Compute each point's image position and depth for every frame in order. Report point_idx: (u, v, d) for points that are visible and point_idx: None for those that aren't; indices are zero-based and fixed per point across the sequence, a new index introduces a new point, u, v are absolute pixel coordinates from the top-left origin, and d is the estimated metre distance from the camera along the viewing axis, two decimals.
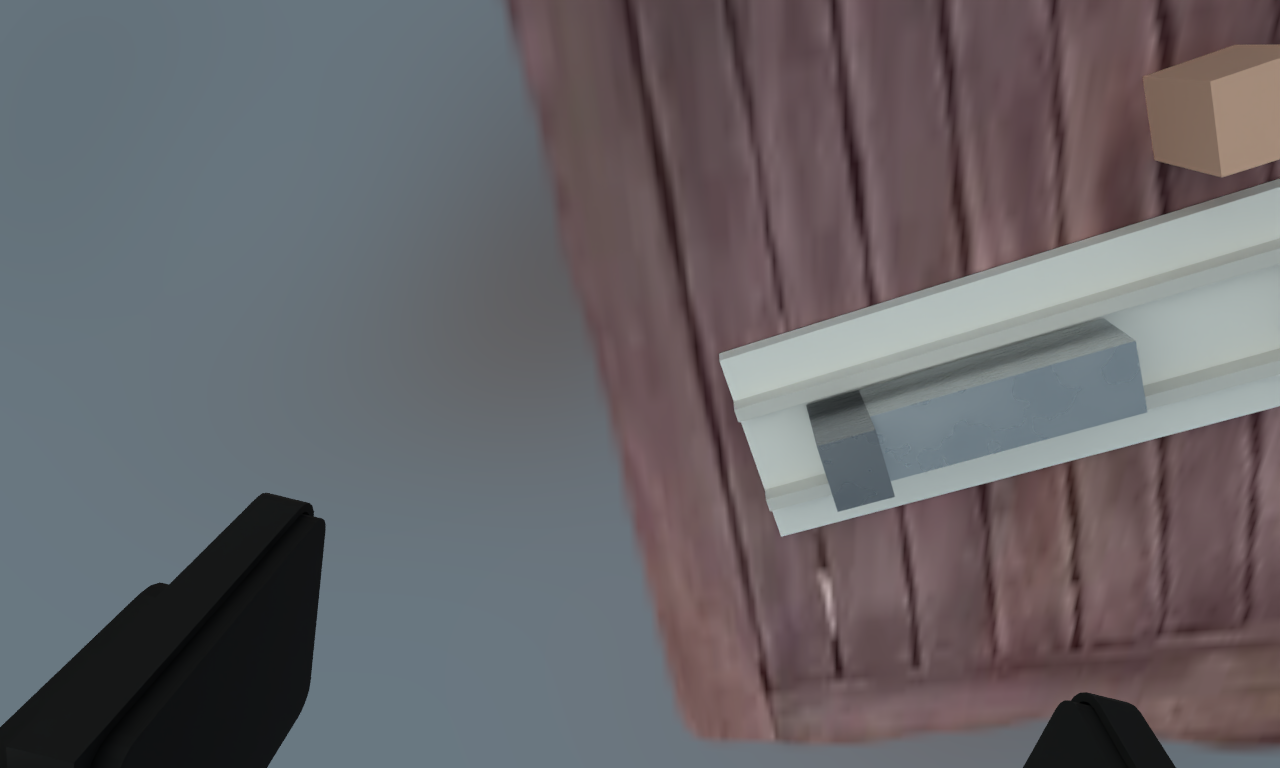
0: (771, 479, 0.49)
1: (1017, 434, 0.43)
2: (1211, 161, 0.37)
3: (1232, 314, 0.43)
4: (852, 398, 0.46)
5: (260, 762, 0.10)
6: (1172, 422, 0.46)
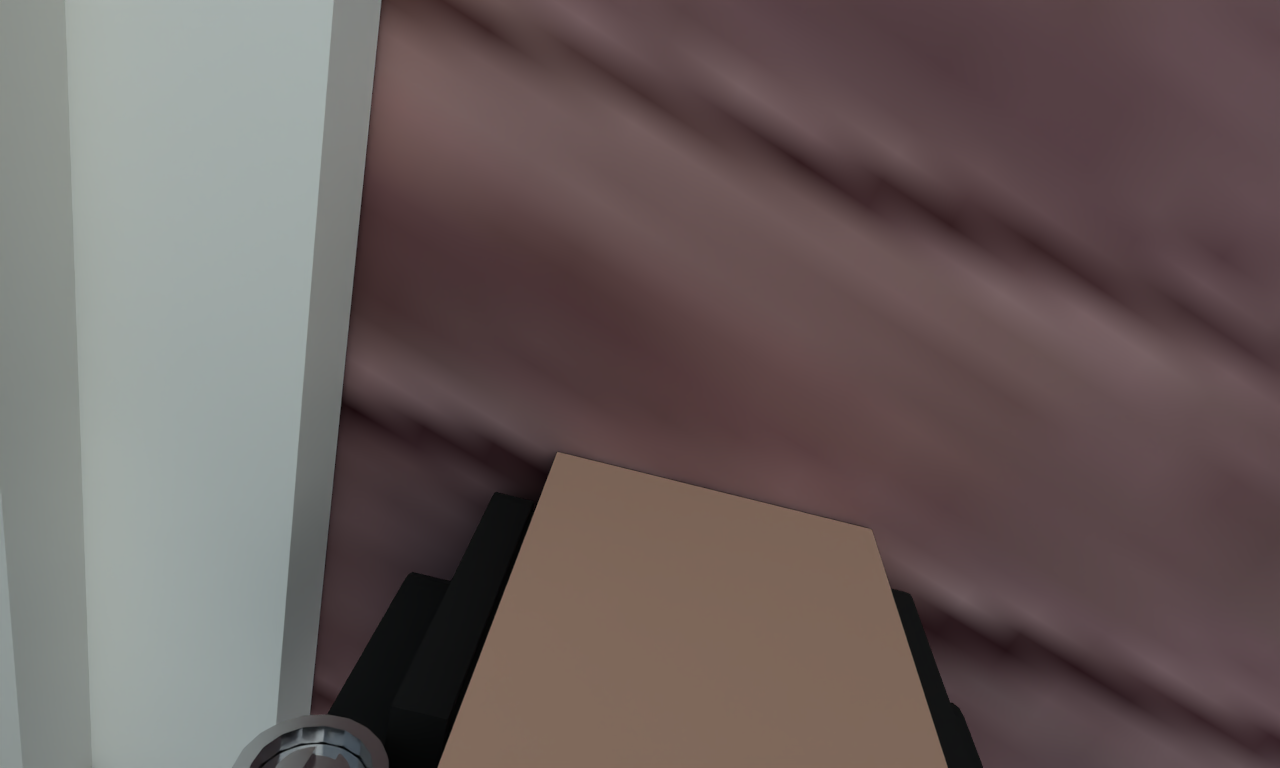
0: None
1: None
2: None
3: None
4: None
5: None
6: None
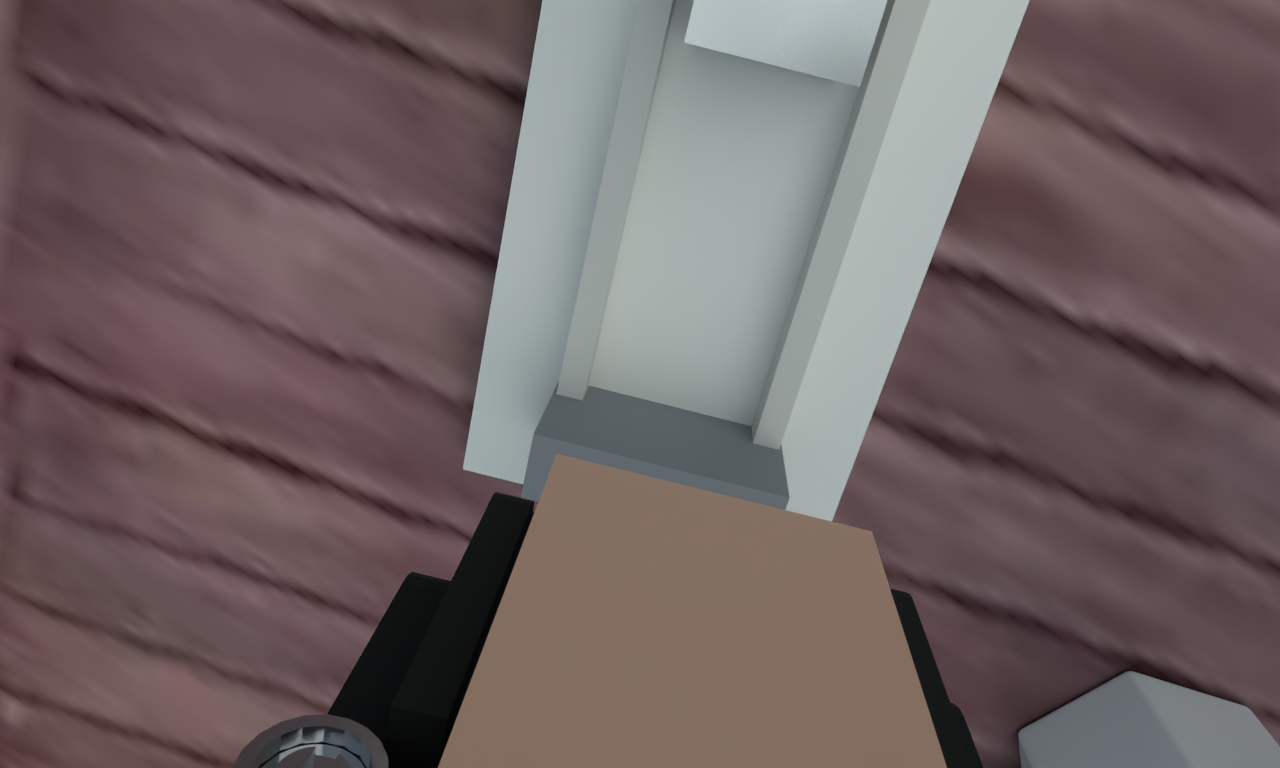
0: None
1: None
2: None
3: (706, 283, 0.24)
4: None
5: None
6: (550, 112, 0.23)
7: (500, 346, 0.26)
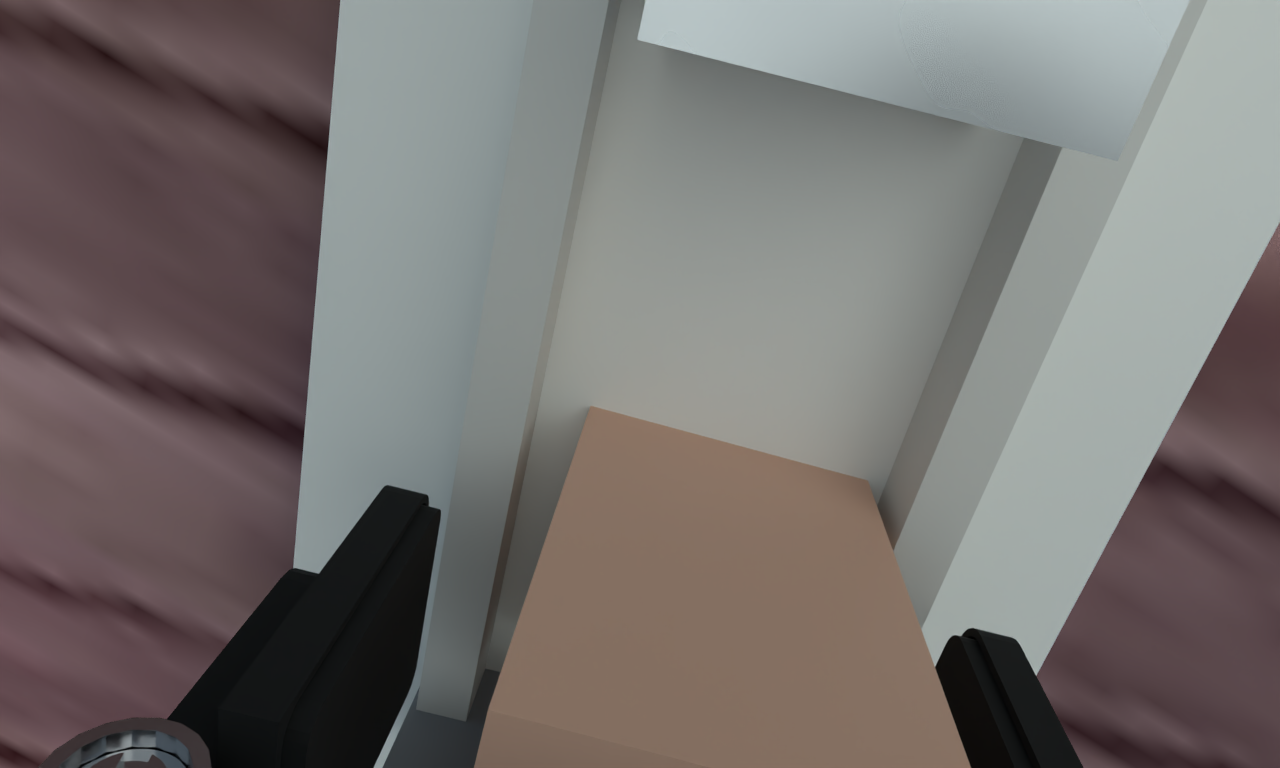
0: None
1: None
2: (579, 670, 0.07)
3: None
4: None
5: (383, 735, 0.10)
6: (378, 185, 0.11)
7: None
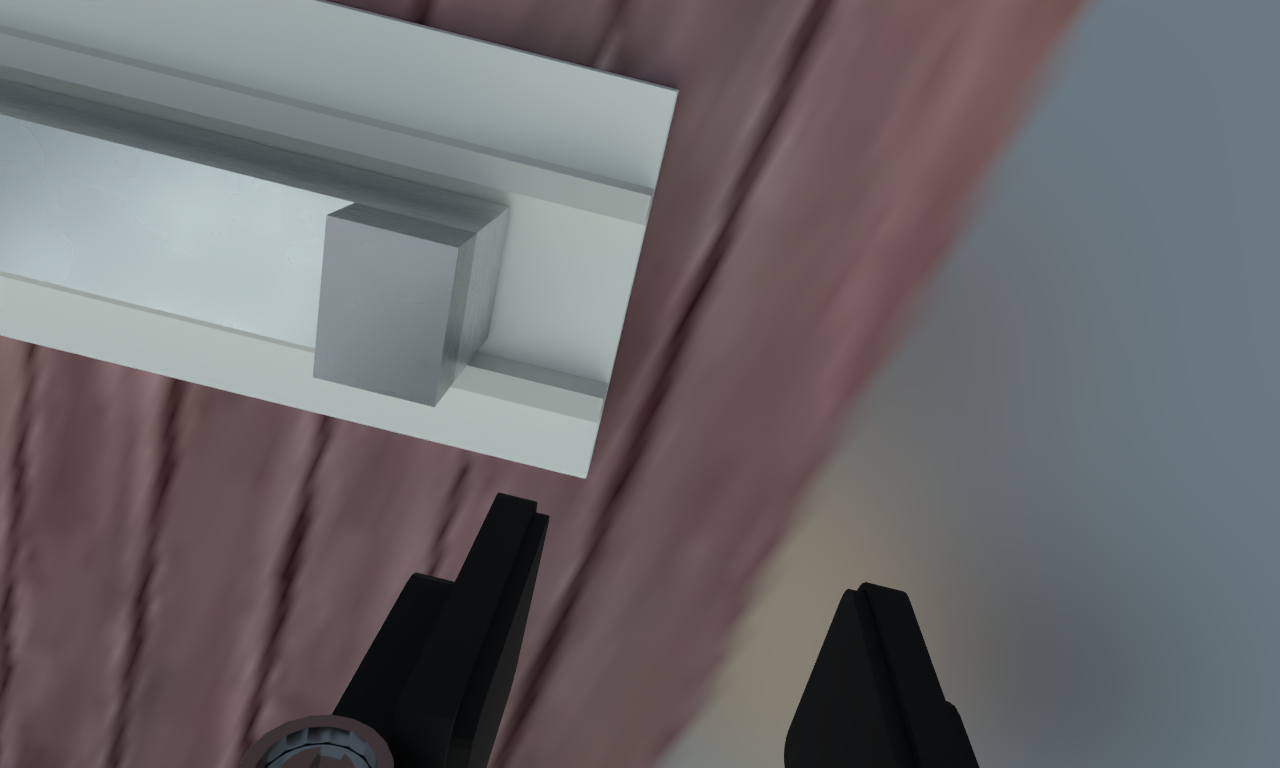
0: (623, 230, 0.24)
1: (77, 163, 0.20)
2: None
3: None
4: None
5: (495, 733, 0.11)
6: None
7: None
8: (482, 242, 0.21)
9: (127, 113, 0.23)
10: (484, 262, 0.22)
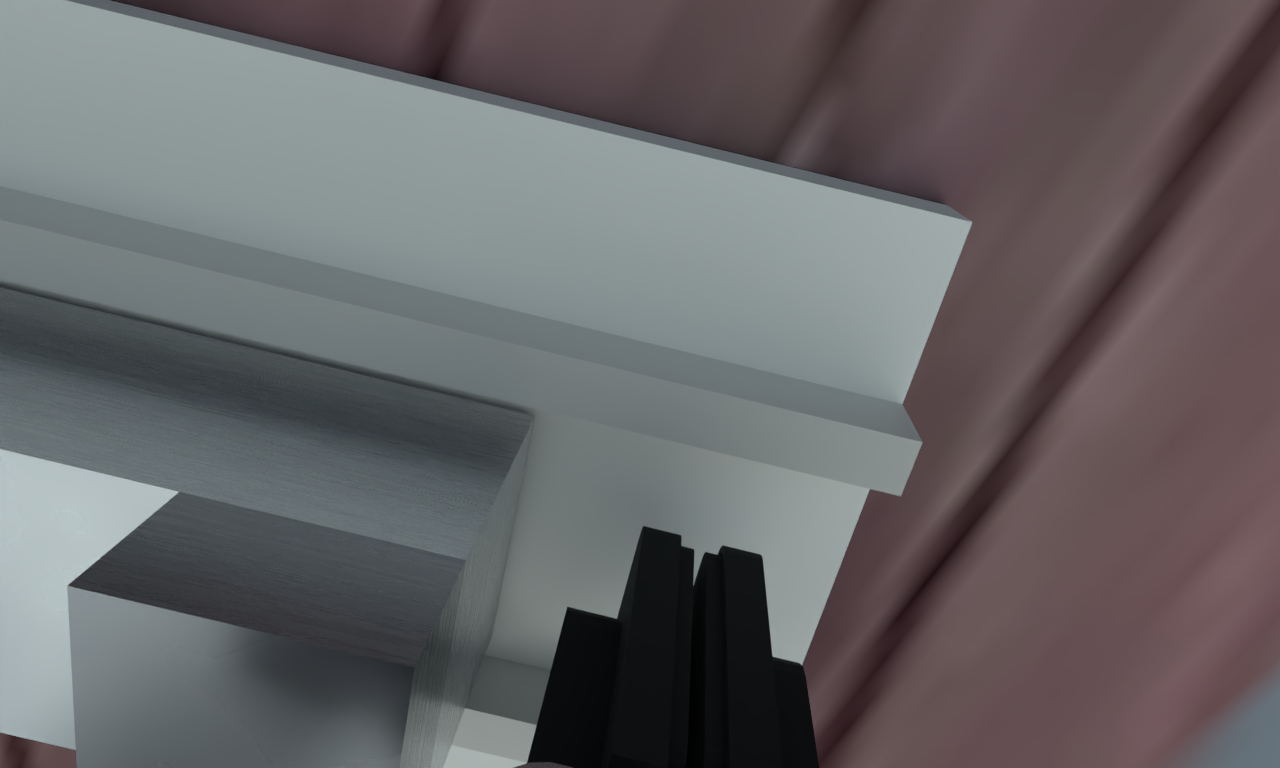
0: None
1: None
2: None
3: None
4: None
5: None
6: None
7: None
8: (479, 552, 0.09)
9: None
10: (484, 568, 0.10)
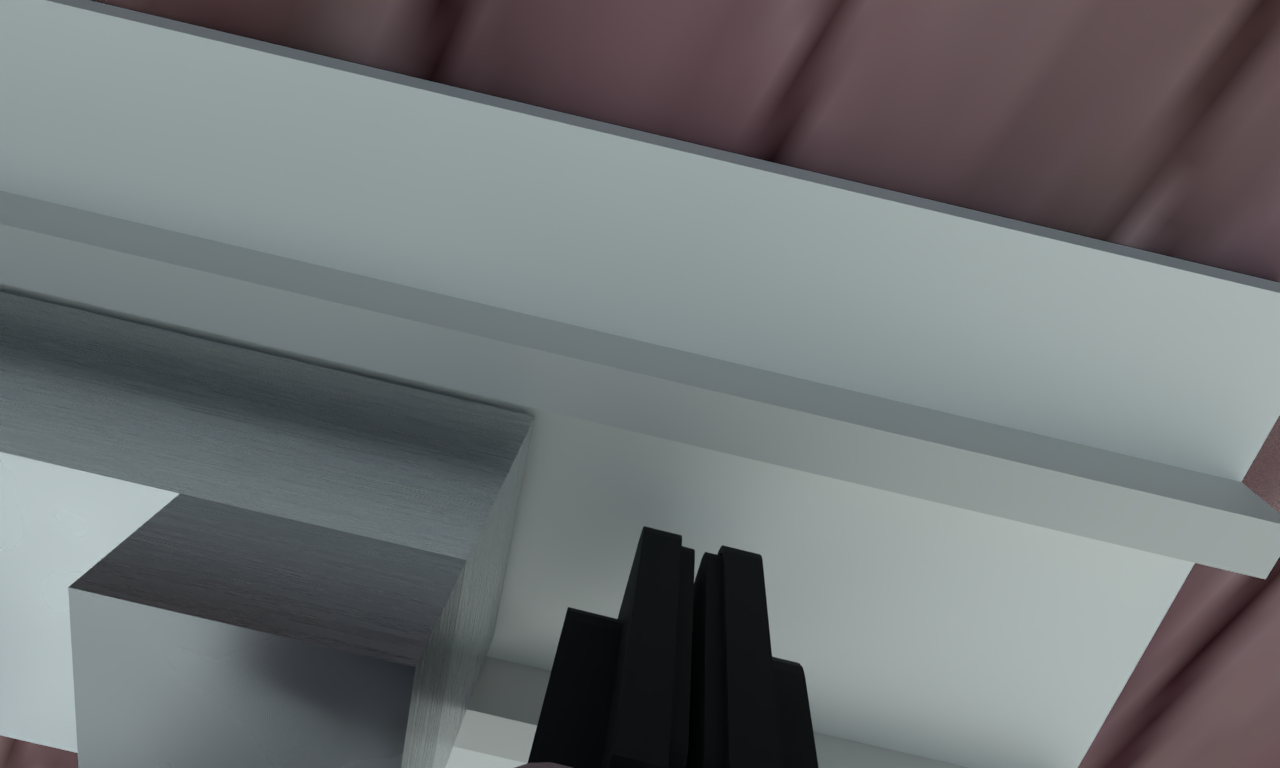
0: None
1: None
2: None
3: None
4: None
5: None
6: None
7: None
8: (479, 552, 0.09)
9: None
10: (484, 568, 0.10)
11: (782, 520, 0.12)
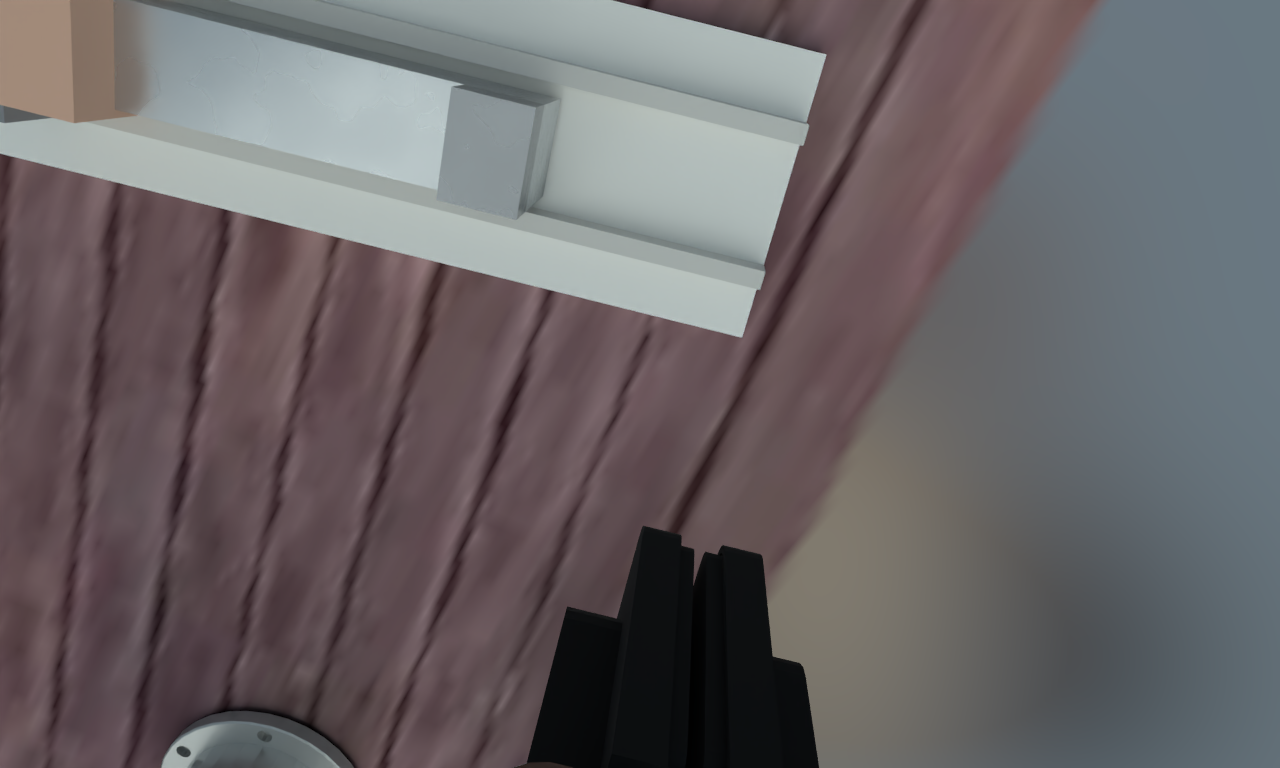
0: (782, 152, 0.34)
1: (280, 59, 0.30)
2: (84, 17, 0.29)
3: None
4: None
5: None
6: None
7: None
8: (546, 114, 0.31)
9: (297, 33, 0.33)
10: (545, 131, 0.32)
11: (649, 142, 0.34)
